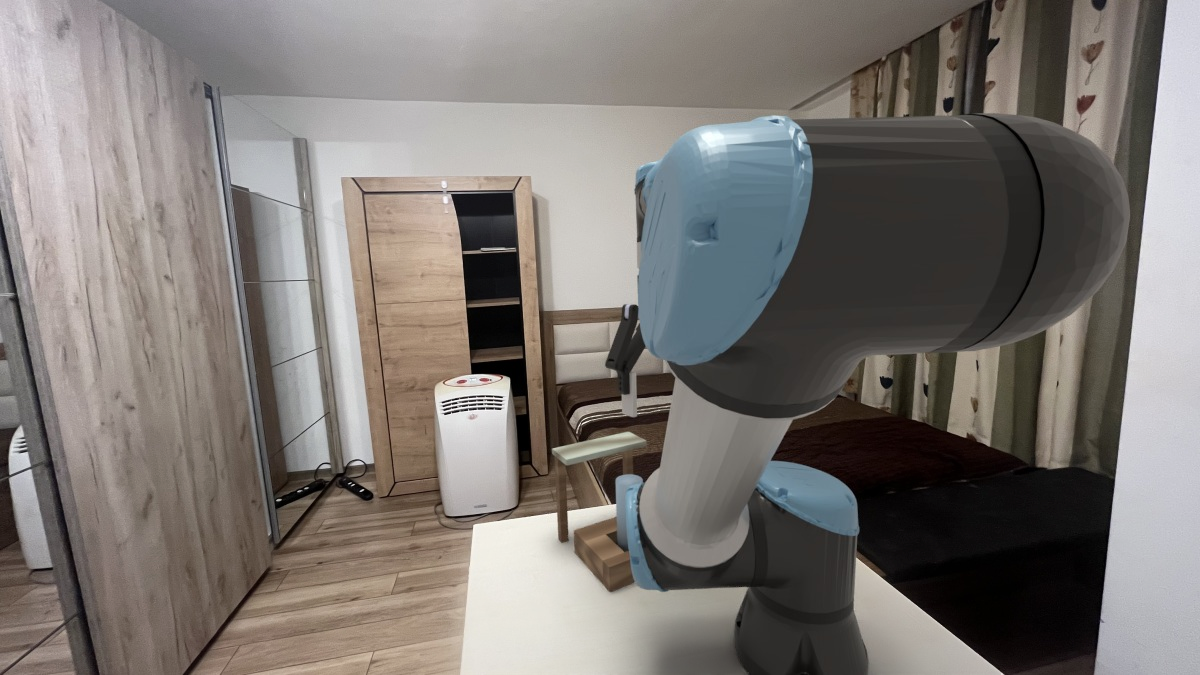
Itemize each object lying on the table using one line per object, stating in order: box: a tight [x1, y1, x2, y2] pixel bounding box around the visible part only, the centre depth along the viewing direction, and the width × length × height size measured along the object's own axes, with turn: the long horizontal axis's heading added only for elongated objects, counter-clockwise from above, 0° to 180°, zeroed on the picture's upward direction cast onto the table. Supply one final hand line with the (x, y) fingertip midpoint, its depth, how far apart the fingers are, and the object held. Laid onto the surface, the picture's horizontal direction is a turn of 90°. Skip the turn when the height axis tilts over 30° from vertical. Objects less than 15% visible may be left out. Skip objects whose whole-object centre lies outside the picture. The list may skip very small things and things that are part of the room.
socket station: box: [551, 431, 648, 593], centre depth 80 cm, size 18×16×17 cm
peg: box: [615, 474, 644, 552], centre depth 77 cm, size 4×4×14 cm
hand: (664, 407), depth 74 cm, fingers open, 13 cm apart
